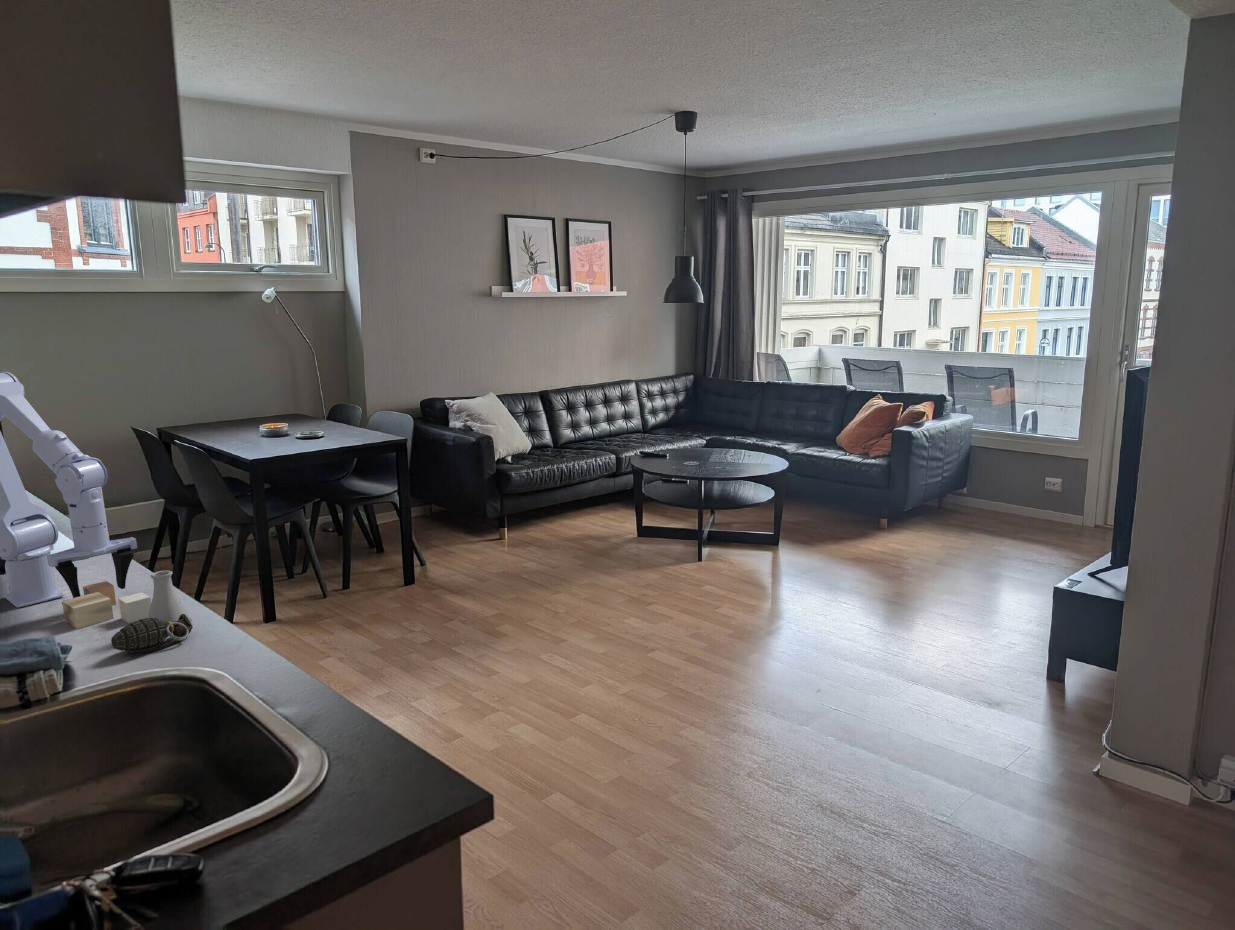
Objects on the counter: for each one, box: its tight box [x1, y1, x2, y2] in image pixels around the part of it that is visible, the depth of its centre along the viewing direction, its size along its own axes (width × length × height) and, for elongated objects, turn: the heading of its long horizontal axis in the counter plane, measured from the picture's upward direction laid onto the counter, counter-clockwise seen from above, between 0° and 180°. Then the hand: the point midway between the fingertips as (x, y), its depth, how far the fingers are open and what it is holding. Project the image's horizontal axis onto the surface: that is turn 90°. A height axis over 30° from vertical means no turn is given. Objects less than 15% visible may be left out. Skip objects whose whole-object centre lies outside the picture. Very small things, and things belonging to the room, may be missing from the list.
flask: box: [148, 570, 193, 623], centre depth 150 cm, size 7×7×10 cm
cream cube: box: [118, 591, 152, 624], centre depth 155 cm, size 4×4×4 cm
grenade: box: [110, 614, 194, 657], centre depth 142 cm, size 6×5×12 cm
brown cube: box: [82, 580, 117, 606], centre depth 162 cm, size 4×4×4 cm
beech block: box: [61, 592, 114, 630], centre depth 155 cm, size 6×6×4 cm
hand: (99, 593), depth 162 cm, fingers open, 7 cm apart
